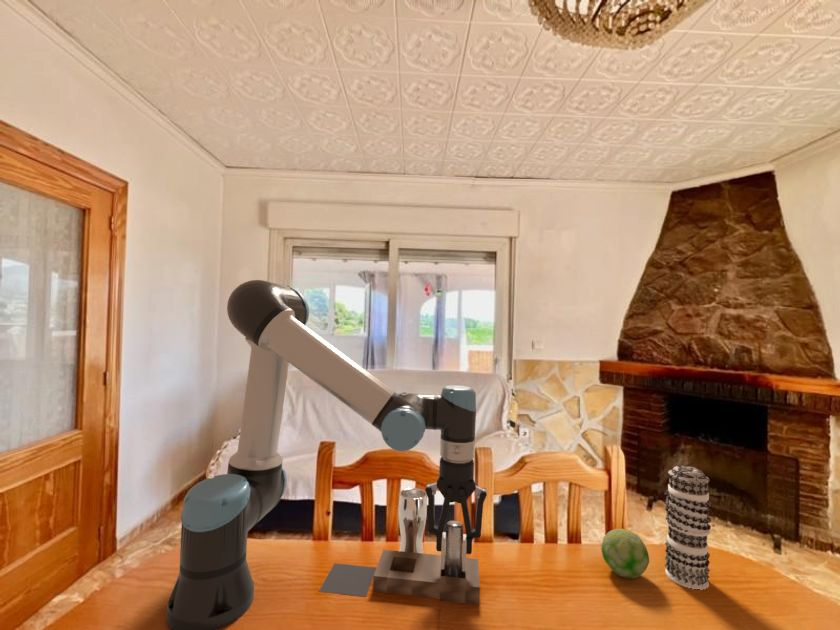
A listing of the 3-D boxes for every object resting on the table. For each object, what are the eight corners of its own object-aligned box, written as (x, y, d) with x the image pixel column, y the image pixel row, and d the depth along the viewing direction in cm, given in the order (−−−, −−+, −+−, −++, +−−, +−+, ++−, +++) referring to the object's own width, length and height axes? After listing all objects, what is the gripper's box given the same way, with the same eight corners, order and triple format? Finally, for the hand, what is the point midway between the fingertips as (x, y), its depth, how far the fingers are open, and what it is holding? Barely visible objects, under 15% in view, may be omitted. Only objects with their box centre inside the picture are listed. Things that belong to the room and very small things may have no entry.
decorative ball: (621, 591, 87) (622, 544, 88) (591, 564, 97) (592, 522, 97) (659, 585, 90) (660, 540, 90) (626, 559, 99) (627, 519, 100)
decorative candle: (661, 580, 92) (664, 470, 92) (664, 561, 99) (666, 459, 100) (711, 597, 86) (713, 479, 87) (710, 575, 94) (712, 468, 95)
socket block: (372, 592, 84) (373, 575, 84) (382, 564, 94) (383, 549, 94) (479, 604, 81) (479, 587, 81) (477, 574, 91) (478, 559, 91)
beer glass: (422, 565, 94) (424, 501, 94) (393, 561, 95) (395, 497, 96) (427, 549, 101) (429, 489, 101) (400, 545, 102) (402, 486, 103)
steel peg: (444, 585, 85) (446, 527, 86) (444, 574, 89) (446, 519, 89) (460, 586, 85) (463, 529, 85) (461, 576, 89) (463, 521, 89)
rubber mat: (318, 593, 83) (318, 591, 83) (334, 564, 93) (334, 563, 93) (365, 598, 82) (365, 596, 82) (376, 569, 92) (376, 567, 92)
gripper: (416, 460, 85) (412, 573, 84) (497, 466, 83) (494, 581, 82) (420, 449, 92) (416, 553, 92) (495, 455, 90) (491, 560, 90)
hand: (453, 566), depth 87 cm, fingers open, 4 cm apart
